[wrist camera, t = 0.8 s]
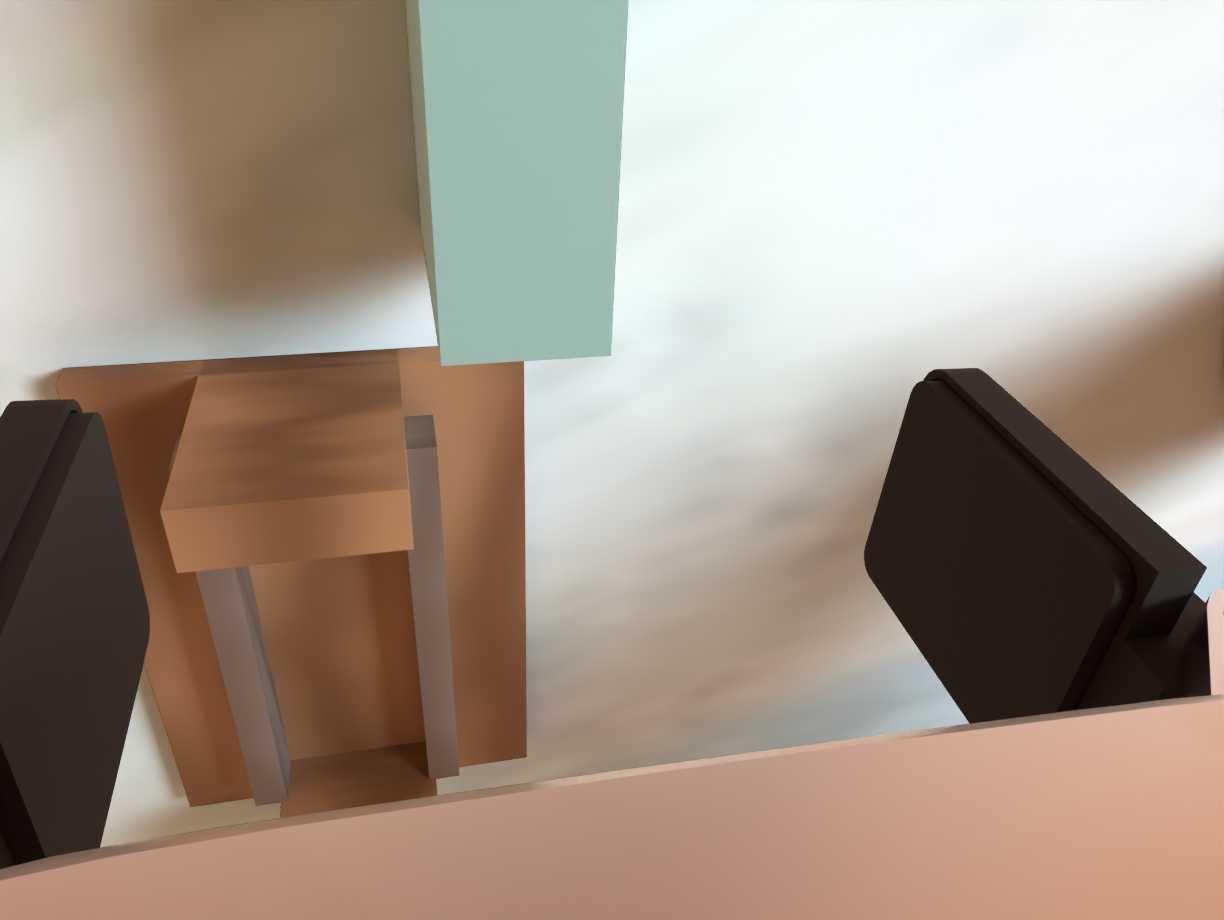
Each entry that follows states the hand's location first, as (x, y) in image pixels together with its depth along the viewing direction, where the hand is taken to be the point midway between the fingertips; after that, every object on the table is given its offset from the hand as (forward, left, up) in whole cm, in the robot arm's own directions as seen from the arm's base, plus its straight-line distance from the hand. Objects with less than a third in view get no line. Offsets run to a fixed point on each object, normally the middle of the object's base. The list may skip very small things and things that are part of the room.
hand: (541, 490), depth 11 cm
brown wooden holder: (+5, +18, -20) cm, 27 cm away
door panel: (-1, -1, -20) cm, 20 cm away
